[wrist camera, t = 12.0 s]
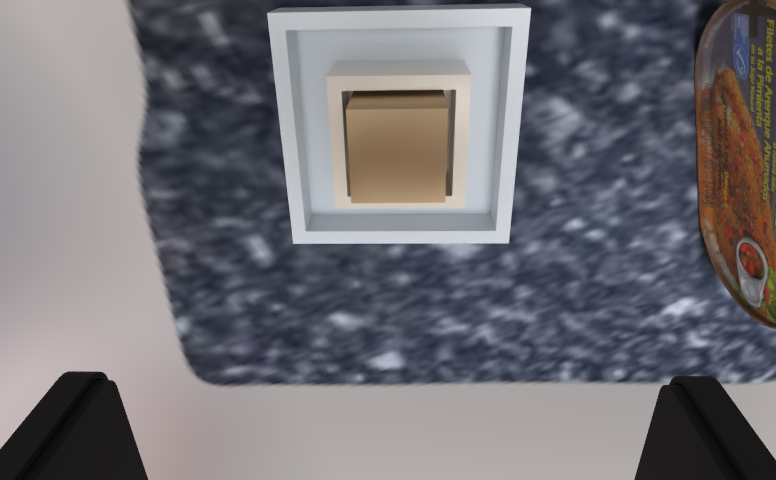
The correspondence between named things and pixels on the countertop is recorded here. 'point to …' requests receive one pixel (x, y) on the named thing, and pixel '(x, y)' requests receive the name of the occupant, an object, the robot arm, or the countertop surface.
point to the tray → (400, 43)
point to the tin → (739, 151)
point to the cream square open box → (401, 77)
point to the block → (397, 146)
